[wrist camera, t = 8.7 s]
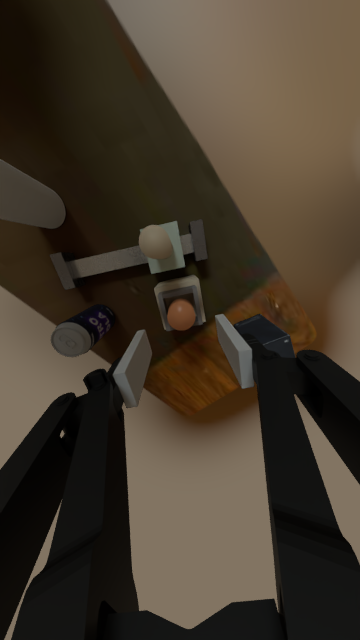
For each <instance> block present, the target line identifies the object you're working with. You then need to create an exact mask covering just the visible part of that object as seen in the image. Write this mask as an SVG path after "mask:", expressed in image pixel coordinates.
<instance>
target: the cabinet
mask: <svg viewBox="0 0 360 640" xmlns="http://www.w3.org/2000/svg"><path fill="white" fill-rule="evenodd" d="M154 291H155V295H156V299H157V303H158V306H159V310H160V314H161V318H162V322H163V326H164V330H167V331H170V330H176V329H174V328H172V327H171V326H170V324H169V323H168V319H167V315H168V310H169V306H170V304H171V303H172V302H173V301H174V300H176V299H180V298H182V299H186V300H188V301H189V302H190V303H191V304H192V306H193V309H194V312H195V322H194V324H193V325H192V326H196V325H201V324H203V322H206V320H205V314H204V308H203V302H202V296H201V290H200V284H199V279H198V278H197V277H196V276H195V275H190V276H186V277H181V278H176V279H172V280H167V281H162V282H159V283H158V284H157V286H156V287H155V288H154Z"/></svg>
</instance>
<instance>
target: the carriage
mask: <svg viewBox="0 0 360 640" xmlns="http://www.w3.org/2000/svg"><path fill="white" fill-rule="evenodd" d="M140 232H141V234H140V237H139V245H140V248H141V250H142V252H143V253H144V254H145V255H146V256H147V259H148V263H149V267H150V271H151V274H154V273H159V272H163V271H168V270H172V269H177V268H182V267H185V263H184V257H183V252H182V247H181V241H180V236H179V231H178V225H177V221H175V222H170V223H166V224H162V225H158V226H157V225H150V226H147V227H146V228H144V229H141V230H140Z"/></svg>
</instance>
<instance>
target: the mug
mask: <svg viewBox="0 0 360 640" xmlns="http://www.w3.org/2000/svg"><path fill="white" fill-rule="evenodd" d="M65 215H66V212H65V206H64V203H63V201H62V199H61V198H60V197H59V195H58V194H57V193H56V192H55V191H53V190H52V189H50V188H48V187H47V186H45V185H43V184H42V183H40V182H38V181H37V180H35V179H33V178H32V177H30V176H28V175H26V174H25V173H23V172H21V171H20V170H18V169H16V168H15V167H13V166H11V165H10V164H8V163H6V162H5V161H3V160H1V159H0V219H3V220H8V221H13V222H18V223H23V224H28V225H33V226H38V227H43V228H49V229H54V228H57V227H59V226H61V225H62V223H63V222H64V220H65Z"/></svg>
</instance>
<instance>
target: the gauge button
mask: <svg viewBox="0 0 360 640" xmlns="http://www.w3.org/2000/svg"><path fill="white" fill-rule="evenodd" d="M167 319H168V323H169V324H170V326H171V327H172V328H174V329H176V330H187V329H189V328H190V327H191V326H192V325H193V324H194V322H195V312H194V309H193V306H192V304H191V303H190V302H189V301H188V300H186V299H182V298H180V299H176V300H174V301H173V302H172V303H171V304H170V306H169V310H168V315H167Z"/></svg>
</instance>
